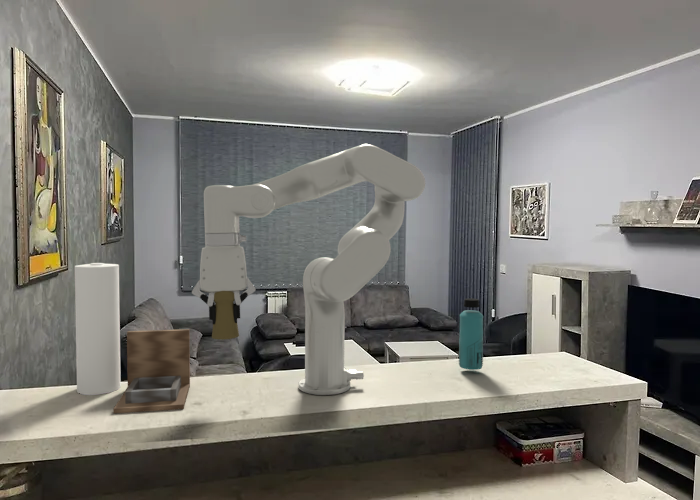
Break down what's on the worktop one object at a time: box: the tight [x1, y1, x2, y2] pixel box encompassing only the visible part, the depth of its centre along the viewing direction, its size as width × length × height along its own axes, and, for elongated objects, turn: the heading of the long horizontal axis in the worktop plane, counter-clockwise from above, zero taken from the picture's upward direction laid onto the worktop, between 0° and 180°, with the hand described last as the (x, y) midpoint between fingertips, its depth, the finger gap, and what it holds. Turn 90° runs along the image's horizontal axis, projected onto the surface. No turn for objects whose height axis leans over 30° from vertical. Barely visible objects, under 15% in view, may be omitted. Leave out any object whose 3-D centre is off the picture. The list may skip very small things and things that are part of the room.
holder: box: [112, 328, 191, 414], centre depth 119 cm, size 14×16×14 cm
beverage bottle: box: [458, 298, 484, 371], centre depth 142 cm, size 6×7×20 cm
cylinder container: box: [74, 262, 122, 396], centre depth 125 cm, size 9×9×30 cm
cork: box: [211, 291, 240, 340], centre depth 119 cm, size 6×6×11 cm
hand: (225, 321), depth 119 cm, fingers closed on cork, 4 cm apart
